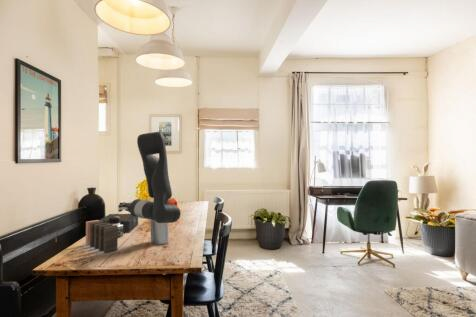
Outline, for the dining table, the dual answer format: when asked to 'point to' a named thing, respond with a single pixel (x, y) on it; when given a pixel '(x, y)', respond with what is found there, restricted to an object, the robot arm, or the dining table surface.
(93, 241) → the tile
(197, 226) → the dining table surface
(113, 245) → the tile
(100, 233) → the tile
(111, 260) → the dining table surface
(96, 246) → the tile
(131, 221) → the cash box
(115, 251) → the felt strip
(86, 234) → the tile
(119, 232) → the medicine bottle
